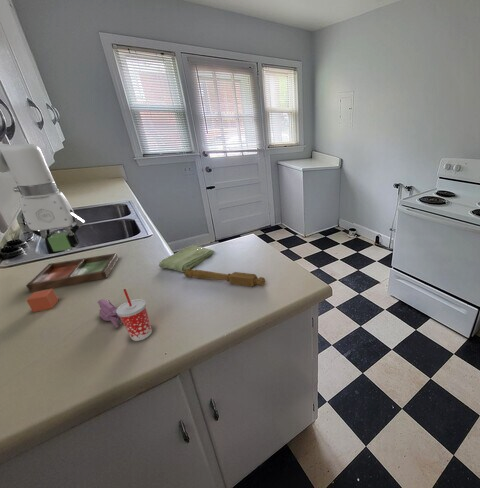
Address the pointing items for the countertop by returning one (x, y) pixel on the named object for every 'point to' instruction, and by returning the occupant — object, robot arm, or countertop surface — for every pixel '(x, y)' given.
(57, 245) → the green block
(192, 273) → the tap handle
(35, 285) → the tray
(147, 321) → the beverage cup
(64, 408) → the countertop surface
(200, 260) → the washcloth
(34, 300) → the terracotta block
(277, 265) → the countertop surface
